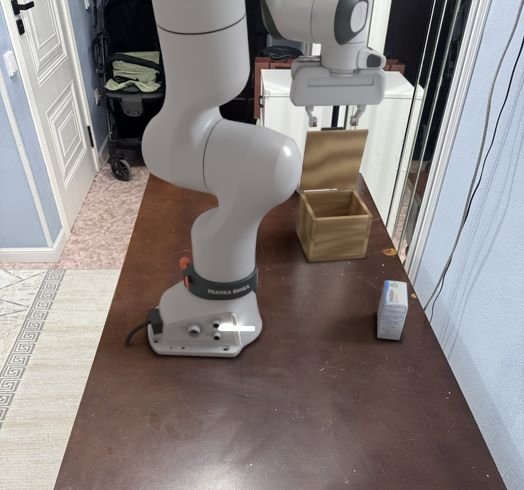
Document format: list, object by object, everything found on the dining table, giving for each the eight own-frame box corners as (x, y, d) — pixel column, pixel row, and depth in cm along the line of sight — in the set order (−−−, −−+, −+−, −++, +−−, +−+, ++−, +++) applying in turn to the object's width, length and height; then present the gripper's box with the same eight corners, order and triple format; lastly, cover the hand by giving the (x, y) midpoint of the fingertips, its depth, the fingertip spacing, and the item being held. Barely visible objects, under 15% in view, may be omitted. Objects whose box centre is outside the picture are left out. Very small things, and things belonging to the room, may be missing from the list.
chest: (364, 257, 118) (372, 216, 110) (308, 262, 116) (312, 219, 108) (348, 228, 128) (354, 188, 120) (296, 232, 126) (299, 191, 118)
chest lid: (368, 130, 108) (362, 118, 111) (307, 133, 106) (302, 120, 109) (355, 188, 120) (349, 175, 122) (299, 190, 118) (295, 178, 121)
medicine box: (399, 341, 96) (409, 306, 90) (376, 338, 97) (384, 303, 91) (398, 316, 102) (407, 281, 96) (376, 313, 102) (384, 279, 96)
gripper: (295, 59, 97) (290, 132, 106) (393, 58, 100) (380, 129, 109) (288, 52, 101) (284, 122, 111) (383, 51, 104) (371, 119, 114)
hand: (333, 125), depth 110 cm, fingers open, 8 cm apart
